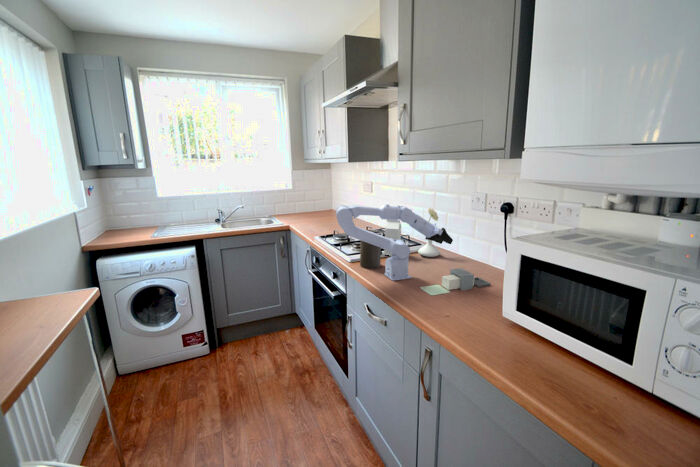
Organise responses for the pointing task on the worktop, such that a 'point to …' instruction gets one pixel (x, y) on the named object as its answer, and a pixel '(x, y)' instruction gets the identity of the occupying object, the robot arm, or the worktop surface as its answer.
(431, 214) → the flower in vase
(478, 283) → the tray
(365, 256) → the pillar candle
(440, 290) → the pad
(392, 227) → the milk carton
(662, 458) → the worktop surface
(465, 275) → the tunnel
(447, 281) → the long ivory beam
